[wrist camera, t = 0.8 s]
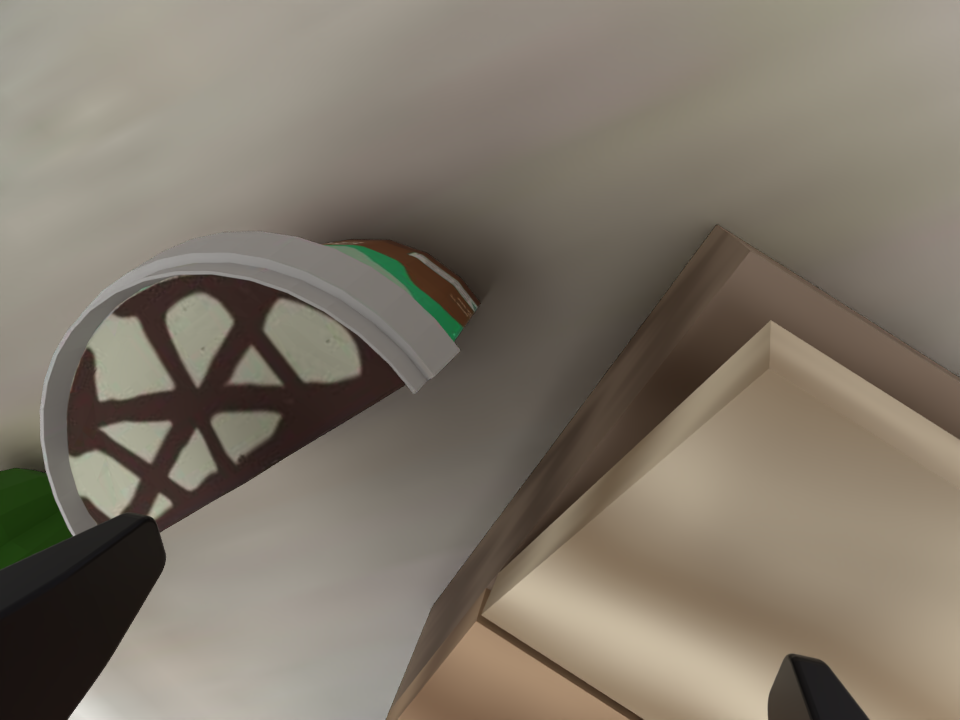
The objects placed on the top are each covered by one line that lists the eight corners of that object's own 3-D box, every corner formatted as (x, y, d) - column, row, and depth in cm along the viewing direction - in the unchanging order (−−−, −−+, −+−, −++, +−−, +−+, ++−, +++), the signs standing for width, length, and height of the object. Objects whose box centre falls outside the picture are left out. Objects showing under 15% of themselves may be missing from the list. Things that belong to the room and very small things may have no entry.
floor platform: (806, 846, 27) (864, 1063, 21) (432, 606, 27) (373, 748, 21) (1242, 556, 19) (1552, 759, 13) (717, 224, 20) (764, 261, 13)
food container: (417, 131, 21) (254, 117, 11) (514, 282, 22) (436, 380, 12) (188, 312, 25) (-63, 407, 16) (278, 430, 26) (90, 585, 17)
